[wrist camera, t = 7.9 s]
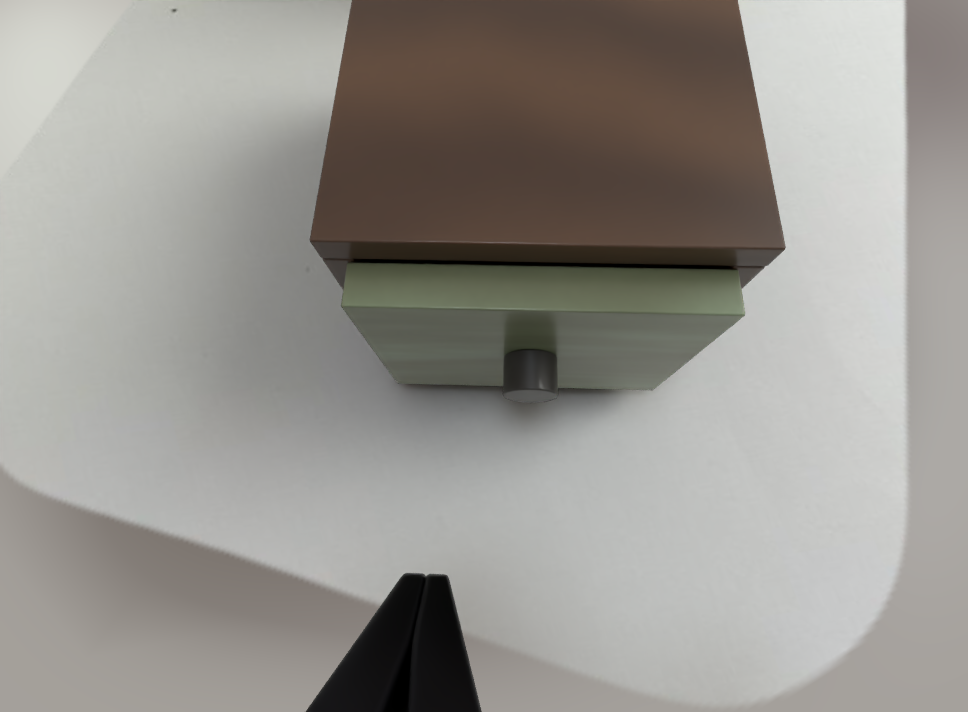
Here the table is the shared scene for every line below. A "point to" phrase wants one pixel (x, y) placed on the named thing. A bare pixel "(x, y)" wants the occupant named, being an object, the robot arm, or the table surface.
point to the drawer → (538, 322)
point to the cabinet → (547, 137)
